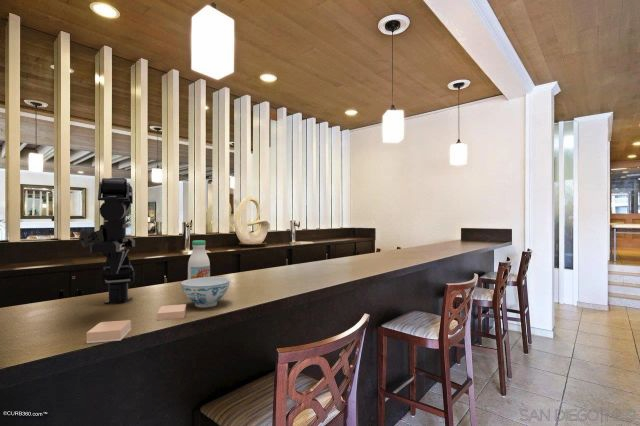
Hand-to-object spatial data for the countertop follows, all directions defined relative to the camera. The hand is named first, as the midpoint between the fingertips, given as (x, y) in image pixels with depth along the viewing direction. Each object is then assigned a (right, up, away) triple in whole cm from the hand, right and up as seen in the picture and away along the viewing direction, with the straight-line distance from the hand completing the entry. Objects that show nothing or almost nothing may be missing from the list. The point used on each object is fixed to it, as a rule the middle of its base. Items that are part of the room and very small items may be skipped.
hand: (114, 274), depth 100 cm
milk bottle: (+16, -12, +25) cm, 32 cm away
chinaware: (+23, -12, +11) cm, 28 cm away
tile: (+9, -10, -14) cm, 19 cm away
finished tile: (+17, -12, 0) cm, 21 cm away
